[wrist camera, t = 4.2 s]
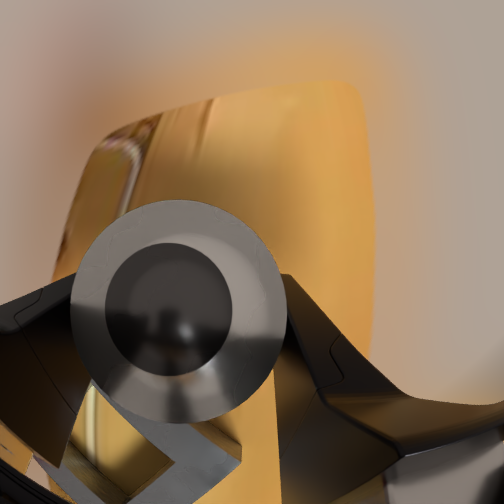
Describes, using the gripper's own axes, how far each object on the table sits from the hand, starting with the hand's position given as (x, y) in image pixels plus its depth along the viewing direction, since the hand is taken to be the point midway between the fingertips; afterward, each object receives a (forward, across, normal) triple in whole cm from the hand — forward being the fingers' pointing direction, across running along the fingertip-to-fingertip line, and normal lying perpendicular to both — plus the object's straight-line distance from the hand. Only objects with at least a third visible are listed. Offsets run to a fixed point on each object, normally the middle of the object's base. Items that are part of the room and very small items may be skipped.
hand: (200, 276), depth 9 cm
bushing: (+4, 0, +6) cm, 8 cm away
